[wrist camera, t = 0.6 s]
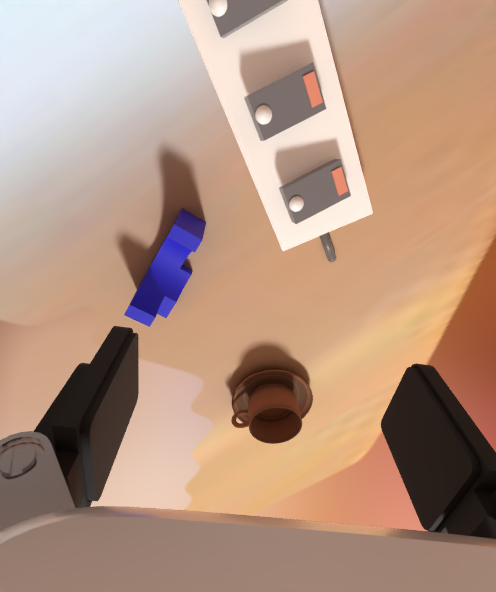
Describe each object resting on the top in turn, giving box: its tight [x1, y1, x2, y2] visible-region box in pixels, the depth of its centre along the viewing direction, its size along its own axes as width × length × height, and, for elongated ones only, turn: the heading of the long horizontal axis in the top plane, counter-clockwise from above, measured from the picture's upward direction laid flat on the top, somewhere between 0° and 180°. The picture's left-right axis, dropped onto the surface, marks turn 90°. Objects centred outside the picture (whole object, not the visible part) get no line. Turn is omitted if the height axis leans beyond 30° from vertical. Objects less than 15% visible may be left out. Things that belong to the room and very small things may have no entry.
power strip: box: [178, 0, 373, 262], centre depth 33 cm, size 10×31×4 cm, turn 24°
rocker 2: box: [244, 62, 326, 141], centre depth 28 cm, size 6×4×1 cm, turn 113°
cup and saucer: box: [232, 370, 313, 444], centre depth 49 cm, size 12×12×6 cm
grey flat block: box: [279, 159, 351, 224], centre depth 32 cm, size 6×4×1 cm, turn 113°
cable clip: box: [124, 209, 206, 327], centre depth 38 cm, size 12×4×6 cm, turn 147°
